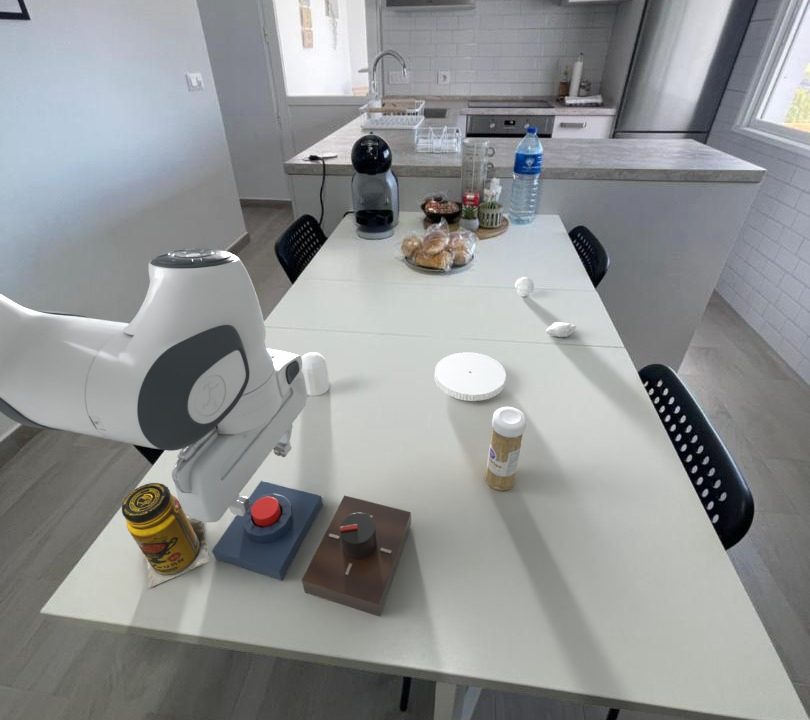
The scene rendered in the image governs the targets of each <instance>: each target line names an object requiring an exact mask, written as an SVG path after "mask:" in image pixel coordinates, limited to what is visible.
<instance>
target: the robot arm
mask: <svg viewBox="0 0 810 720" xmlns="http://www.w3.org/2000/svg"><path fill="white" fill-rule="evenodd" d="M148 278H149V286H148V289H147V291H146V295H145V298H144V300H143V301H142V304H141V306H140V308H139V309H138V311H137V313H136V315H135V316H134V317H133V319H131V321H130V322H129V323H128V322H121V321H115V320H114V321H113V320H107V319H98V318H92V317H89V316H84V315H79V314H74V313H69V312H65V311H57V310H43V309H31V308H27V307H24V306H22V305H20V304H18V303H17V302H15V301H13V300H12V299H10V298H8V297H6V296H5V295H3V294H1V293H0V413H1V414H3V415H4V416H6V417H7V418H9V419H10V420H12V421H13V422H15V423H18V424H20V425H22V426H26V427H31V428H36V429H44V430H52V431H61V432H62V431H63V432H71V433H74V434H75V433H76V434H81V435H85V436H89V437H94V438H99V439H105V440H109V441H113V442H119V443H125V444H129V445H134V446H138V447H139V446H140V447H143V448H144V447H145V448H150V449H154V450H155V449H156V450H162V451H170V452H171V451H179V450H180V451H179V453H178V454H177V460H176V462H175V465H174V467H173V469H172V470H171V478H172V481H173V483H174V487H175V492H176V495H177V499H178V501H179V502H180V504H181V507H182V510H183V512H184V513H185V515H186V517H188V518H190V517H191V518H193V519H196V520H199V521H202V523H217V522H218V521H220V520H221V519H222V517H223V516H224V515H225V514H226V512H228V510H229V511H230V512H231V514H233V515H235V516H237V515H239V516H244V515H245V513H246V511H247V510H248V509H249V507H250V506H251V505H250V503H249V497H247V496H244V495H243V496H241V495H240V494H241V492H242V491H243V490H244V488H245V487H246V486H247V484H248V483H249V482H250V481H251V479H252V478H253V476H254V475H255V474H256V473H257V471H258V469H259V468H260V467H261V466H262V464H263V463H264V462H265V460H266V459H267V458H268V456H269V455H270V454H271V452H272V451H273V453H274V454H275V455H276V456H277V457H282V458H286V457H287V455H288V454H289V453H290V451H291V449H292V446H291V438H292V431H293V426H294V425H293V423H294V422H295V421H296V419H297V418H298V416H300V414H301V413H302V411H303V410H304V409H305V407H306V405H307V400H308V395H307V390H306V384H305V379H304V375H303V372H302V371H301V369H302V359H301V358H302V356H301V355H300V354H296V353H292V352H288V351H284V350H278V349H272V348H267V345H266V337H267V328H266V325H265V319H264V316H263V313H262V312H263V311H262V308H261V304H260V301H259V297H258V294H257V292H256V289H255V285H254V284H253V281H252V279H251V276H250V274H249V272H248V270H247V268H246V266H245V265H244V262H242V260H241V259H240V258H239V257H238V256H237V255H235V254H233V253H231V252H229V251H226V250H221V249H212V248H197V247H196V248H187V249H186V248H181V249H176V250H171V251H167V252H163V253H161V254H158V255H157V256H155V257H154V258H152V259H151V260H150V261H148Z"/></svg>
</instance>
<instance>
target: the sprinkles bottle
mask: <svg viewBox="0 0 810 720" xmlns="http://www.w3.org/2000/svg"><path fill="white" fill-rule="evenodd" d="M491 426H492V432H491V438H490V444H489V449H488V456H487V462H486V465H487V466H486V471H485V474H484V479H485V483H486V484H487V485H488V486H489V487H490V488H492V489H494V490H496V491H507V490H509V489H511V488H512V487H513V486H514V484H515V476H516V471H517V468H518V463H519V457H520V452H521V447H522V440H523V434H524V433H525V430H526V426H527V417H526V415H525V413H524V412H522V411H521V410H520V409H519V408H517V407H513V406H502V407H500V408H497V409H496V410H495V411H494V412H493V415H492V420H491Z"/></svg>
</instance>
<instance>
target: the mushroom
mask: <svg viewBox="0 0 810 720" xmlns="http://www.w3.org/2000/svg"><path fill="white" fill-rule="evenodd" d="M514 288H515V289H516V291H517V295H518V296H520V297H522V298H523V297H527V296H529V295H530V294H532V293H533V291H534V289H535V284H534V281H533V280H532V279H531V278H529V277H526V276H524V277H523V276H522V277H520V278H519V279H517V280H516V282H515V284H514Z"/></svg>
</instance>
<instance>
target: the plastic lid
mask: <svg viewBox="0 0 810 720" xmlns="http://www.w3.org/2000/svg"><path fill="white" fill-rule="evenodd" d="M506 381H507V371H506V369H505V367H504V366H503V365H502V363H500V362H499V361H498V360H497V359H494V357H492V356H489V355H487V354H483V353H480V352H479V353H478V352H472V351H470V352H469V351H467V352H466V351H464V352H463V351H461V352H455V353H452V354H449V355H446V356H445V357H443V358H441V359H440V360H439V361H438V363H436V364H435V368H434V382H435V384H436V386H437V387H438V389H440V391H441V392H443V393H444V395H445V394H446V395H447V396H449V397H451V398H455V399H456V400H457V399H458V400H461V401H465V402H466V401H468V402H470V401H471V402H477V401H478V402H480V401H486V400H489V399H492V398H494V397H497V395H499V394H501V392H502V391H503V390H504V389H505V386H506Z"/></svg>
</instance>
